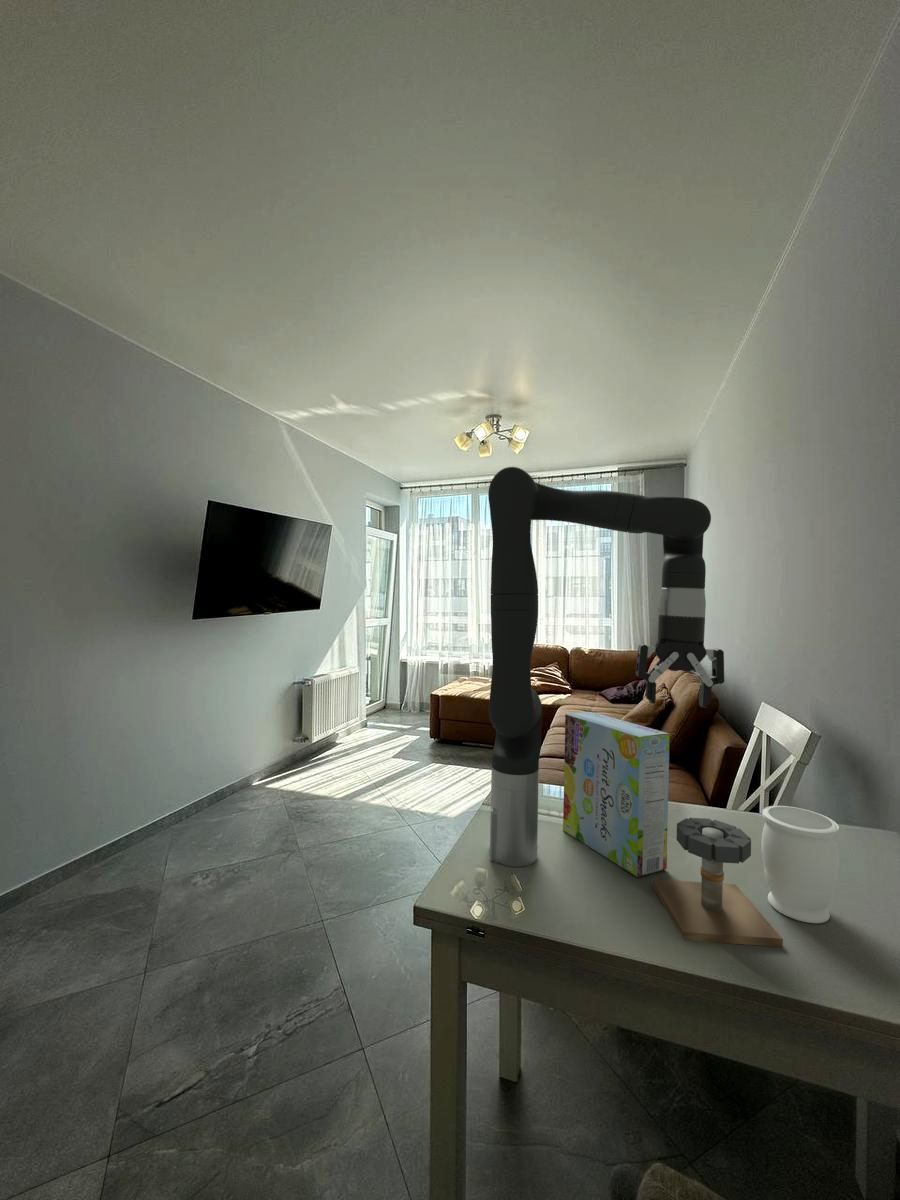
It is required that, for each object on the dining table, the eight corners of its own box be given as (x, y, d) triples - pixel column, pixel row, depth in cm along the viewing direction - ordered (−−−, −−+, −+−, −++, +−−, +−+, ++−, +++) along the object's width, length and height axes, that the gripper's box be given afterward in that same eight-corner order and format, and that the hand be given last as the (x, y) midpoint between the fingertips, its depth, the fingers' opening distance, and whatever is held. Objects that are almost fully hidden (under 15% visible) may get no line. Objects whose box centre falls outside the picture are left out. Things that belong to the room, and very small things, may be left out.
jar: (811, 936, 75) (812, 837, 75) (746, 898, 84) (747, 810, 84) (852, 919, 79) (854, 825, 79) (786, 884, 88) (787, 800, 88)
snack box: (671, 870, 93) (673, 732, 93) (637, 881, 89) (639, 737, 89) (590, 822, 112) (592, 709, 112) (560, 829, 108) (561, 712, 108)
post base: (683, 940, 73) (685, 850, 73) (652, 886, 87) (653, 811, 87) (782, 947, 72) (784, 856, 72) (735, 891, 86) (736, 815, 86)
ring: (693, 861, 75) (693, 845, 75) (669, 830, 85) (669, 816, 85) (762, 864, 74) (762, 848, 74) (729, 833, 84) (730, 819, 84)
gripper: (643, 612, 86) (639, 706, 86) (733, 616, 83) (728, 712, 83) (635, 611, 93) (631, 697, 93) (717, 615, 91) (713, 703, 91)
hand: (677, 704), depth 88 cm, fingers open, 8 cm apart
